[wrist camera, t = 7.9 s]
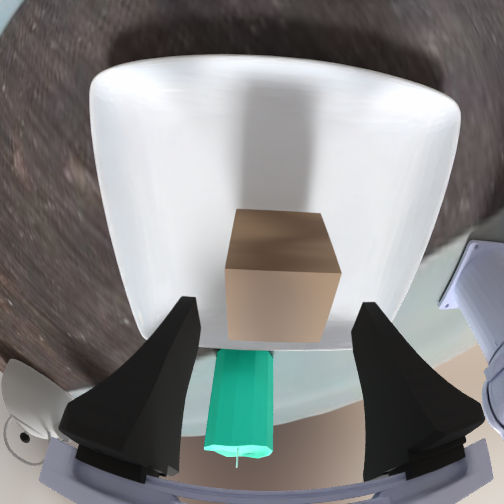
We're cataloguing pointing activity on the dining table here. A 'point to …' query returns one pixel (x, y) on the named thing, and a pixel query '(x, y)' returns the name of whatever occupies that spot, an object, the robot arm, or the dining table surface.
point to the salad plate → (266, 176)
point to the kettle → (33, 404)
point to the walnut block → (279, 276)
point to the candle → (241, 404)
